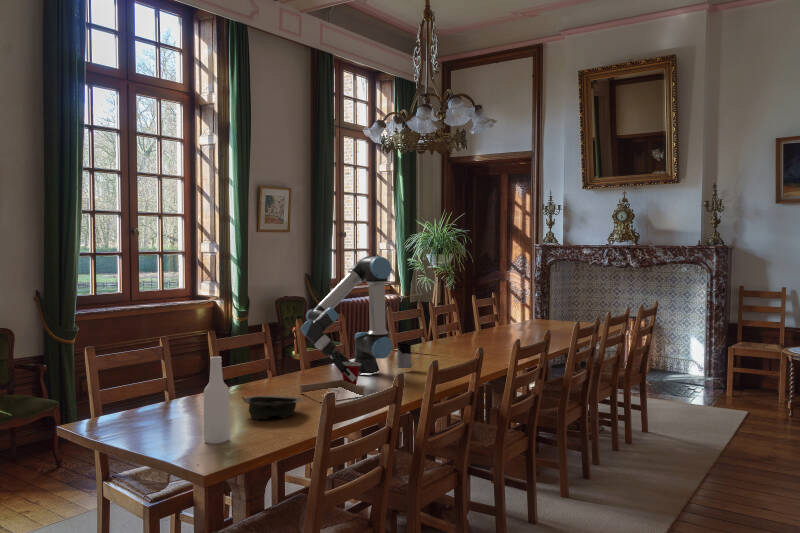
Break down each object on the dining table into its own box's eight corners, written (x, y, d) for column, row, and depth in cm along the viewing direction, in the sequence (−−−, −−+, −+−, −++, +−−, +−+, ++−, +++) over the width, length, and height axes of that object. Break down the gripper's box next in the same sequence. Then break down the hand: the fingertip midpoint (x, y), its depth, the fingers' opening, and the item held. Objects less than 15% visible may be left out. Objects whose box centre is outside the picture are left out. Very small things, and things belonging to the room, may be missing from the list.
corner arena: (341, 388, 313) (341, 379, 313) (363, 397, 295) (363, 387, 294) (300, 394, 301) (300, 384, 301) (320, 403, 283) (320, 393, 283)
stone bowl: (243, 425, 247) (243, 401, 247) (242, 414, 271) (241, 392, 271) (307, 419, 253) (306, 396, 254) (300, 409, 278) (299, 388, 278)
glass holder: (394, 370, 361) (394, 343, 361) (418, 368, 366) (418, 342, 365) (399, 372, 353) (399, 346, 353) (423, 371, 357) (423, 344, 357)
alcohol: (232, 437, 232) (231, 354, 231) (226, 444, 223) (225, 358, 222) (207, 437, 232) (206, 355, 231) (201, 444, 223) (199, 359, 222)
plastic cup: (364, 387, 315) (364, 363, 315) (343, 389, 311) (343, 365, 311) (357, 383, 325) (357, 360, 325) (337, 385, 321) (337, 361, 321)
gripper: (326, 347, 331) (356, 378, 329) (314, 354, 309) (346, 387, 307) (335, 337, 330) (366, 368, 328) (325, 343, 308) (357, 376, 306)
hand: (356, 377), depth 318 cm, fingers closed on plastic cup, 10 cm apart
